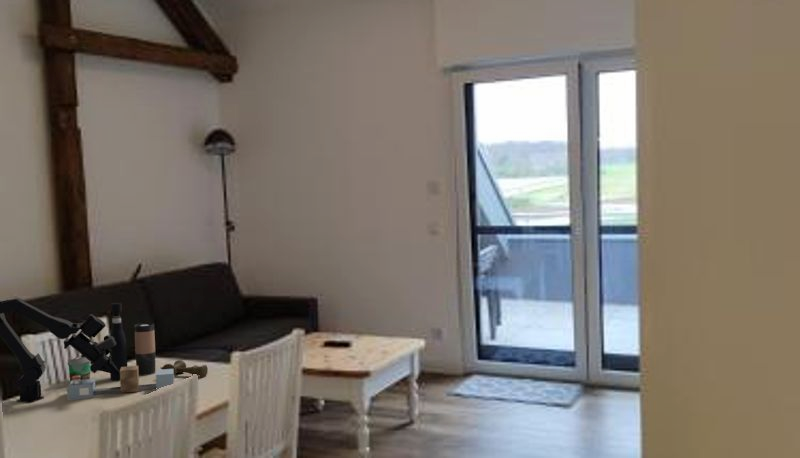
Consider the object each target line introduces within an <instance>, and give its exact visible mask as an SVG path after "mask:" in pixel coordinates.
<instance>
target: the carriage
mask: <svg viewBox="0 0 800 458" xmlns="http://www.w3.org/2000/svg"><path fill="white" fill-rule="evenodd" d="M119 382H120V384H119V385H120V386H119V387H120V388H121V393H120V394H123V393H132V392H139V391H138V386H139V385H140V375H139V370H138V366H136V365H131V366H130V365H127V367H121V369H120V380H119Z"/></svg>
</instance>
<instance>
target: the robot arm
mask: <svg viewBox="0 0 800 458" xmlns="http://www.w3.org/2000/svg"><path fill="white" fill-rule="evenodd" d="M12 311H15V312H17V314H21V315H22V316H24V317H26V318H28V319H30V320H32V321H34V322H36V323H37V324H39V325H41V326H43V327H45V328H46V329H47V331H49V332H50V334H52V335H53V336H55V337H56V338H57V339H60V340H64V341H63V349H65V350H66V349H67V348H68V347H69V346H70V347H72V348H73V349H74V350H75V351H77V353H79V354H80V356H82V357H83V358H84V357H85V358H87V359H88V360H89V361H90V372H92V373H93V374H95V373H96V372H98V371H99V372H103V373H109V374H110V373H111V374H115V375H119V374H120V371H119V370H118V369H117V367H116V366H115V365H114V363H113V362H112V360H111V356H112V355H109V353H110V352H111V351H112V350H111V349H110V348H111V347H114V346H115V345H116V344H117V343H116V341H115V340H114V338H113V336H111V337H110V335H109V334H106V335H105V336H103V340H101V341H99V342H97V341H92V340H91V339H90V338H95V337H97V336H98V335H99V333H101V331H103V330H104V328H105V327H106V323H105V322H104V321H103V320H102V319H100V318H99V317H97V316H95V315H93V314H92V313H91V314H89V316H88V317H87V318H86V319H85V320H84V321H83V323H73V322H71V321H70V320H68V319H64V318H61V317H57V316H53V315H51V314H49V313H47V312H45V311H43V310H41V309H40V308H37V307H35V306H33V305H32V304H30V303H28V302H26V301H24V300H23V299H22V298H20V297H14V298H10V299H6V300H1V301H0V337H1V339H2V340H3V342H5V344H6V345H7V346H8V348H9V349H10V350H11V352H12V353H13V355H14V356H15V358H16V359H17V360H18V362H19V365H20V369H21V370H22V372H23V373H22V374H23V375H22V376H21V377H20V378H19V379H18V380H17V382H18V387H19V398H18V399H16V402H21V403H28V404H29V403H30V404H31V403H34V402H36V401H39V400H42V399H44V398H45V396H43V395H42V386H41V381H40V378H41V377H42V376H43V374H44V373H45V372H46V368H47V367H46V364H45V363H46V361H45V360H43V359H42V357H41V355H40V354H39V353H36V354H33V353H32V352H30V350H29V349H28V348H27V346H26V345H25V344H24V342H23V341H22V340H21V338H20V337H19V336H18V334H17V333H16V331H15V330H14V329H13V327H11V325H10V324H9V323H8V320H7V319H6V315H5V313H8V312H12ZM78 332H79V333H78ZM67 338H68V339H67ZM66 339H67V340H66Z"/></svg>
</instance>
